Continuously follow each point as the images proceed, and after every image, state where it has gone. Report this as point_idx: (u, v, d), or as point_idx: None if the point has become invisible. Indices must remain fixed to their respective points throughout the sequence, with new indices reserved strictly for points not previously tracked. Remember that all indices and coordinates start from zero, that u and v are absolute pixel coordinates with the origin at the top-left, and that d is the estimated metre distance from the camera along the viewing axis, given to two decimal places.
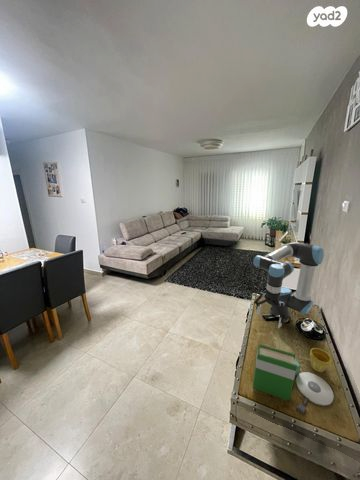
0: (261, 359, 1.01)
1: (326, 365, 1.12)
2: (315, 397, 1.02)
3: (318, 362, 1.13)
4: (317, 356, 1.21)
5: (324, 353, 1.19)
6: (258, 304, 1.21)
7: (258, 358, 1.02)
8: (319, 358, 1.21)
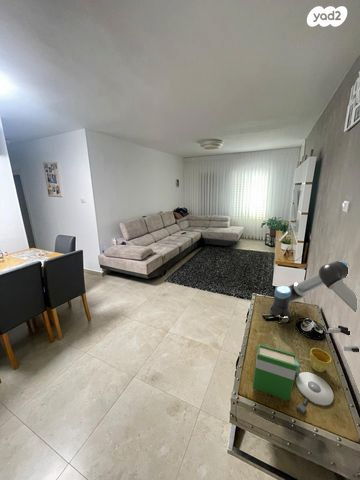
0: (261, 359, 1.01)
1: (326, 365, 1.12)
2: (315, 397, 1.02)
3: (318, 362, 1.13)
4: (317, 356, 1.21)
5: (324, 353, 1.19)
6: None
7: (258, 358, 1.02)
8: (319, 358, 1.21)
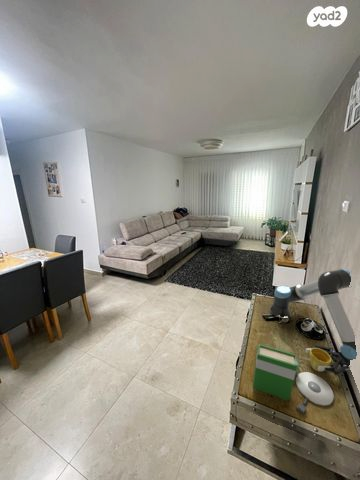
0: (261, 359, 1.01)
1: (326, 365, 1.12)
2: (315, 397, 1.02)
3: (318, 362, 1.13)
4: (317, 355, 1.21)
5: (324, 353, 1.19)
6: None
7: (258, 358, 1.02)
8: (319, 358, 1.21)
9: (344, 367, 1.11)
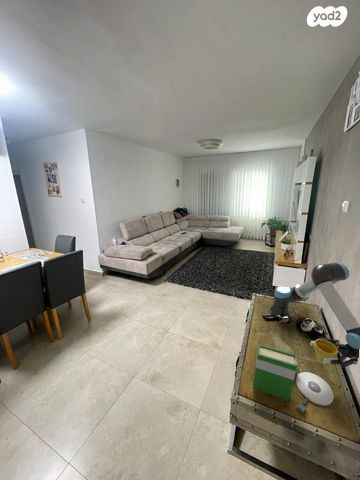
0: (261, 359, 1.01)
1: (332, 357, 1.03)
2: (315, 397, 1.02)
3: (323, 354, 1.04)
4: (322, 347, 1.12)
5: (330, 344, 1.10)
6: None
7: (258, 358, 1.02)
8: (324, 350, 1.12)
9: (352, 360, 1.02)
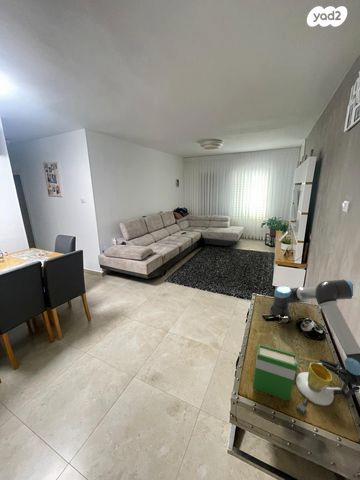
0: (261, 359, 1.01)
1: (324, 383, 1.01)
2: (315, 397, 1.02)
3: (316, 378, 1.03)
4: (317, 372, 1.10)
5: (325, 371, 1.07)
6: None
7: (258, 358, 1.02)
8: (318, 375, 1.09)
9: (354, 388, 0.98)
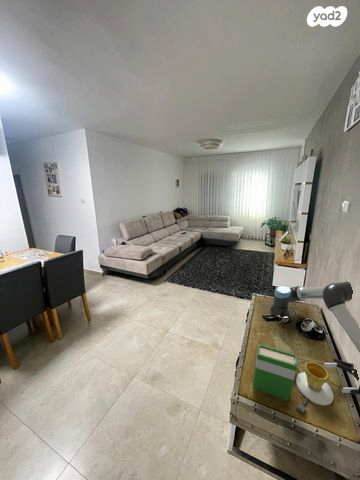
0: (261, 359, 1.01)
1: (320, 381, 1.02)
2: (315, 397, 1.02)
3: (311, 377, 1.04)
4: (315, 371, 1.10)
5: (322, 369, 1.07)
6: None
7: (258, 358, 1.02)
8: (317, 374, 1.10)
9: None
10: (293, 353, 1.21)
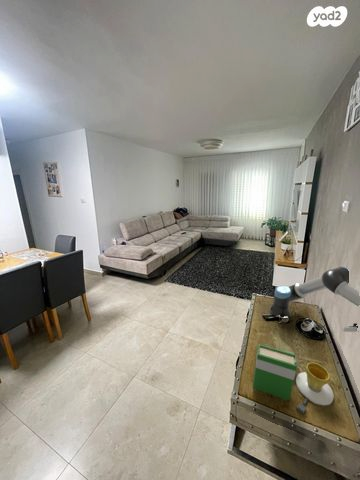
0: (261, 359, 1.01)
1: (321, 383, 1.01)
2: (315, 397, 1.02)
3: (312, 378, 1.03)
4: (316, 372, 1.10)
5: (323, 370, 1.07)
6: None
7: (258, 358, 1.02)
8: (318, 375, 1.09)
9: None
10: None
